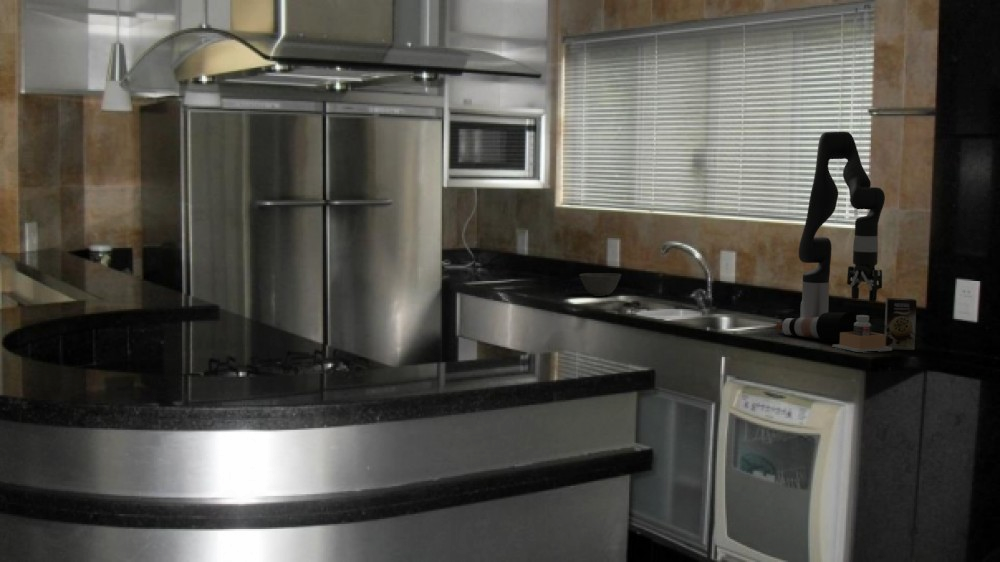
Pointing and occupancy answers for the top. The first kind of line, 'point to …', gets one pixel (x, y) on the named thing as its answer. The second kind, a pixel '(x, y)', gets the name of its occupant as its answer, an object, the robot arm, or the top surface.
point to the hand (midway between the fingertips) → (863, 300)
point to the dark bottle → (820, 326)
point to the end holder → (862, 342)
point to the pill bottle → (862, 326)
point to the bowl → (600, 282)
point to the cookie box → (900, 323)
